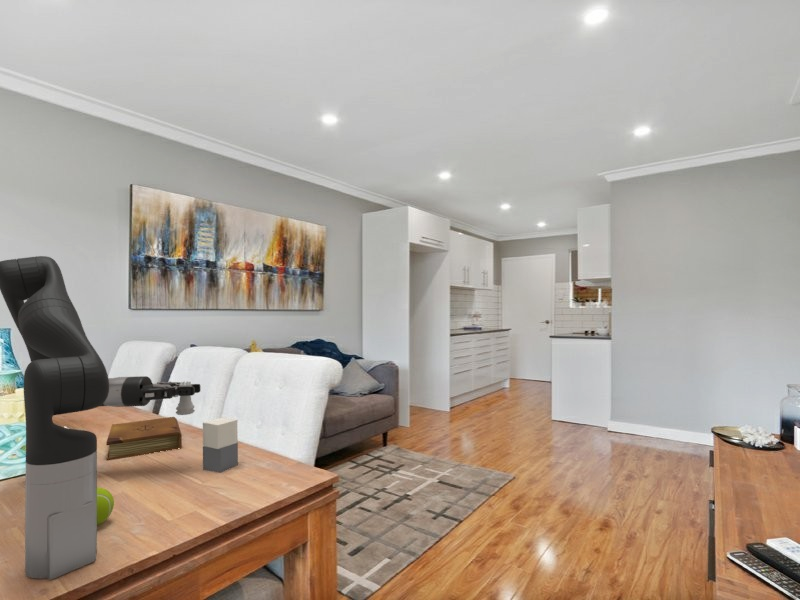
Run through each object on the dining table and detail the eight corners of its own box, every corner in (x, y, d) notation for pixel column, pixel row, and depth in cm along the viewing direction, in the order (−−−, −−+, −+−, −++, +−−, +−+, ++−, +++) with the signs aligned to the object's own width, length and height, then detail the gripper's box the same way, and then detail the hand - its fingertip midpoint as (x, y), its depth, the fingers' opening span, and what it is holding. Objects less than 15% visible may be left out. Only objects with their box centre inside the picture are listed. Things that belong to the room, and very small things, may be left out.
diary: (181, 450, 129) (181, 431, 129) (106, 463, 120) (106, 442, 120) (176, 432, 149) (176, 415, 149) (112, 441, 140) (111, 423, 140)
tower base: (237, 464, 115) (237, 442, 115) (220, 472, 109) (220, 448, 109) (220, 462, 117) (220, 439, 117) (202, 469, 111) (202, 446, 111)
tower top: (237, 442, 114) (237, 419, 114) (217, 449, 109) (217, 425, 109) (222, 439, 117) (222, 417, 117) (202, 445, 112) (202, 422, 112)
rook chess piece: (187, 415, 109) (187, 383, 109) (171, 415, 110) (171, 383, 110) (198, 411, 113) (198, 381, 114) (183, 411, 114) (183, 380, 114)
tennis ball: (117, 525, 82) (117, 488, 83) (72, 539, 77) (72, 500, 78) (109, 513, 87) (109, 478, 88) (66, 526, 82) (66, 489, 83)
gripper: (111, 381, 104) (186, 379, 105) (141, 373, 118) (207, 371, 119) (111, 412, 103) (186, 410, 105) (141, 400, 117) (207, 398, 119)
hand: (196, 389), depth 112 cm, fingers closed on rook chess piece, 3 cm apart
